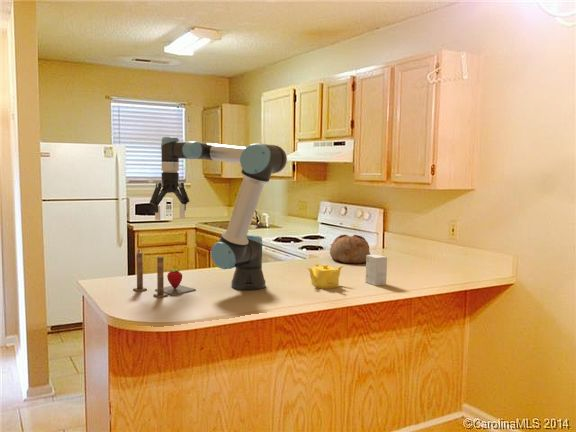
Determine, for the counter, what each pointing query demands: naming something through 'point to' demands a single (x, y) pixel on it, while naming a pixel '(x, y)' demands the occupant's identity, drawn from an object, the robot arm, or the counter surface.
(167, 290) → the slate coaster
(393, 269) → the counter surface
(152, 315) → the counter surface
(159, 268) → the post
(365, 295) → the counter surface
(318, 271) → the teapot
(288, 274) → the counter surface
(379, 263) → the small box
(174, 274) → the strawberry
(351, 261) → the bread
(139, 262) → the post
